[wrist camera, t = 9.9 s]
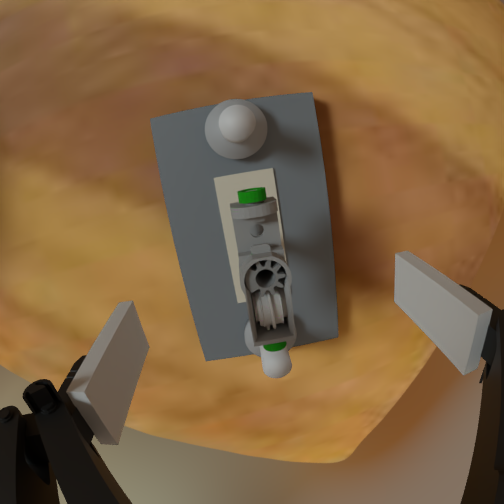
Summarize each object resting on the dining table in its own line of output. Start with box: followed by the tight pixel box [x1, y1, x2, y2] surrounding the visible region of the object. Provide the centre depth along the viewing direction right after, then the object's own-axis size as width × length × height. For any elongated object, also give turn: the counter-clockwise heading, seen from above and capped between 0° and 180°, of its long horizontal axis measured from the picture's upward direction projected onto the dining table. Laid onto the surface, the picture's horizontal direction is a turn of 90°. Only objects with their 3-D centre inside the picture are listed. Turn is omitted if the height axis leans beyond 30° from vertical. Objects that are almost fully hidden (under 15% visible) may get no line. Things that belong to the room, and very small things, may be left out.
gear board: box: [150, 92, 338, 378], centre depth 26 cm, size 24×14×8 cm, turn 9°
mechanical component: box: [230, 187, 296, 352], centre depth 23 cm, size 3×10×10 cm, turn 9°
